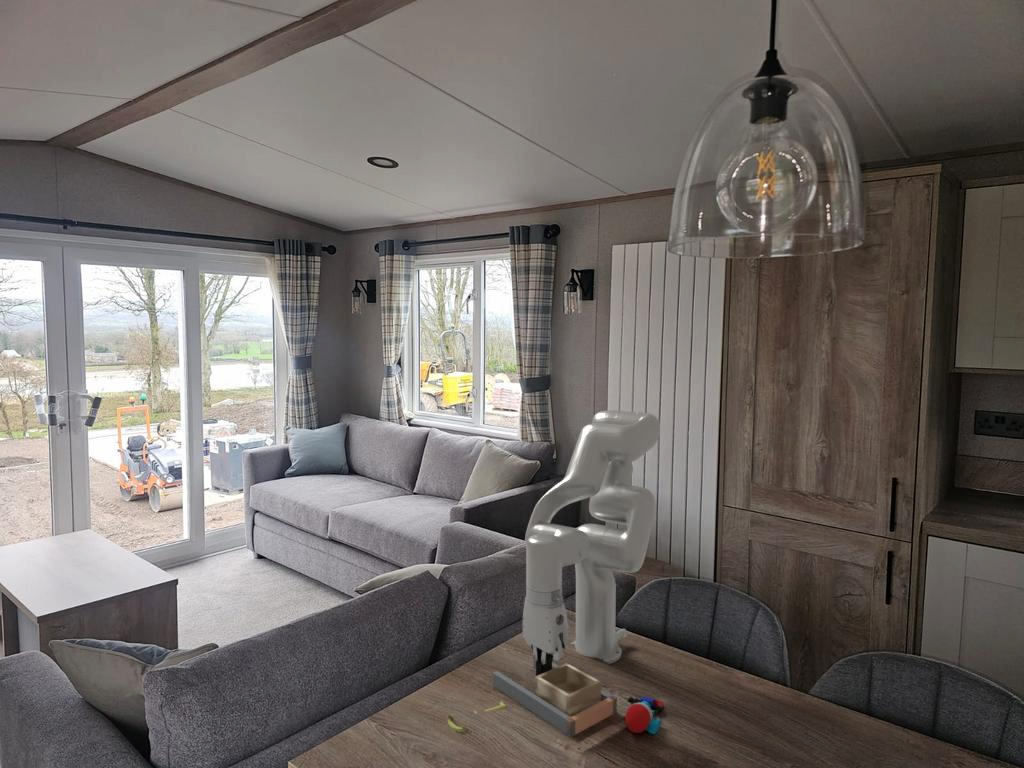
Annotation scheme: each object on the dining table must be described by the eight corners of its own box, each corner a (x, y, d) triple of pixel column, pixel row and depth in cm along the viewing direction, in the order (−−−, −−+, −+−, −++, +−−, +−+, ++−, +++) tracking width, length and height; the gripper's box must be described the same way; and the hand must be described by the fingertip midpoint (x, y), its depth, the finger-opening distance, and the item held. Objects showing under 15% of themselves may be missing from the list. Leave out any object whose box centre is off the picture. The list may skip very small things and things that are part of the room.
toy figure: (630, 705, 144) (613, 732, 130) (633, 682, 144) (617, 707, 130) (665, 716, 141) (652, 745, 127) (668, 692, 141) (656, 718, 127)
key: (509, 714, 138) (509, 704, 138) (459, 737, 131) (459, 727, 130) (488, 699, 144) (488, 690, 144) (439, 721, 136) (439, 711, 136)
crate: (534, 704, 139) (534, 676, 138) (566, 689, 144) (566, 662, 144) (569, 727, 131) (569, 697, 130) (600, 710, 137) (601, 681, 136)
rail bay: (492, 691, 146) (492, 672, 146) (537, 671, 154) (537, 653, 154) (570, 743, 128) (570, 722, 127) (616, 718, 136) (616, 698, 136)
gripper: (582, 600, 138) (581, 686, 139) (534, 579, 149) (534, 659, 151) (555, 610, 133) (555, 699, 135) (507, 588, 145) (508, 670, 146)
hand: (543, 678), depth 143 cm, fingers closed
